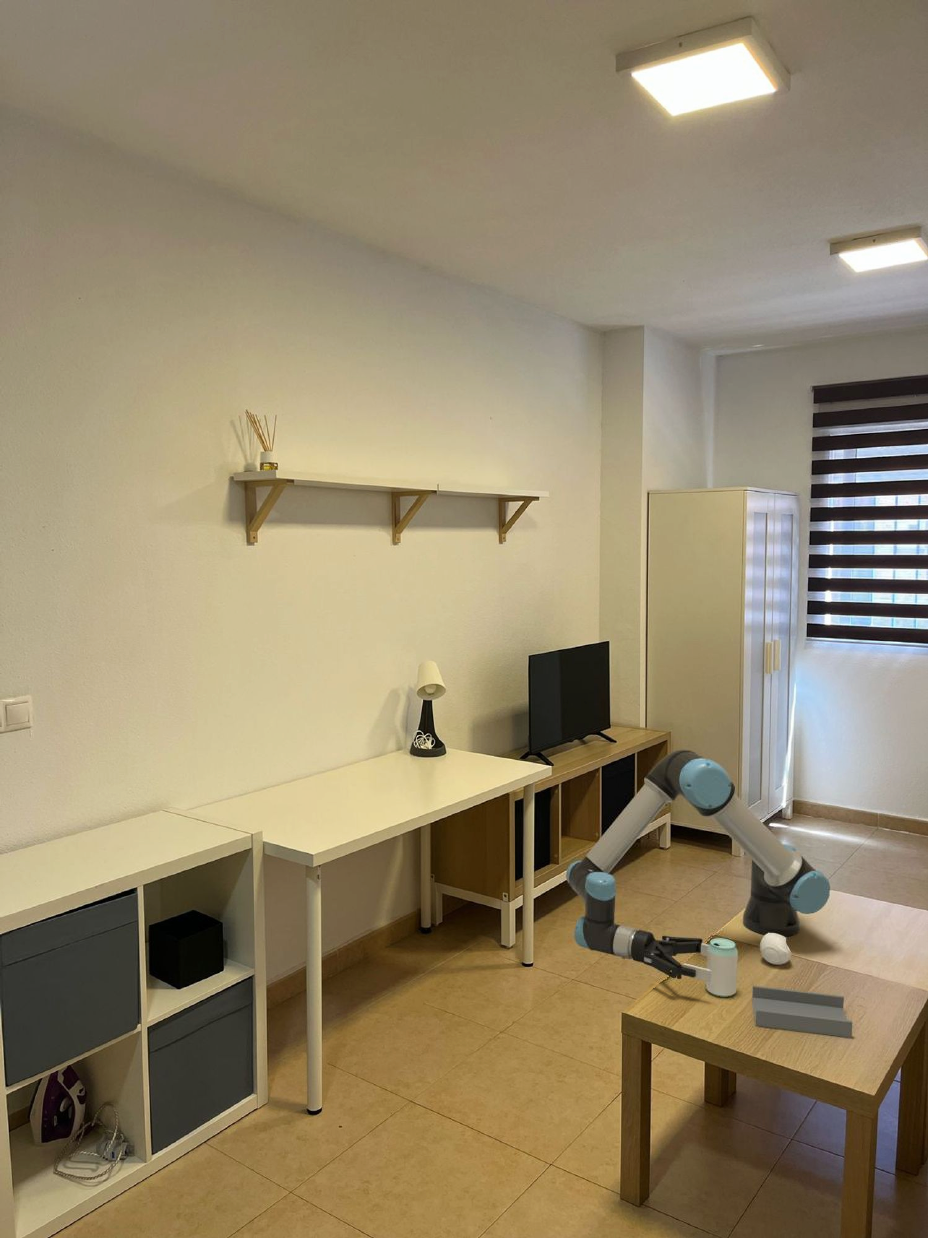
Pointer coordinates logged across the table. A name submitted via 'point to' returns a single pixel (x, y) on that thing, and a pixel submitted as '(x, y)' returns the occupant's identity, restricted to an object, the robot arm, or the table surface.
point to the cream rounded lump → (775, 949)
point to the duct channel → (800, 1011)
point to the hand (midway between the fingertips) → (719, 965)
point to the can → (722, 967)
